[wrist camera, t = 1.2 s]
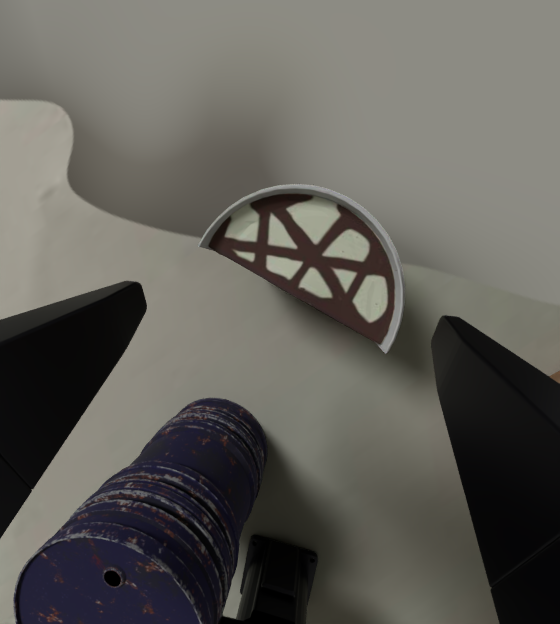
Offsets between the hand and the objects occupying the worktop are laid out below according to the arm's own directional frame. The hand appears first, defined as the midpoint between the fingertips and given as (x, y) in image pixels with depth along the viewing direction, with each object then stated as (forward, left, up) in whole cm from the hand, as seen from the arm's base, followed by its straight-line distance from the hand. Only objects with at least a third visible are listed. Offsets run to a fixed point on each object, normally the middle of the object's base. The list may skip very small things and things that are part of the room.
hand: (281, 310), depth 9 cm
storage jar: (-16, +5, -17) cm, 24 cm away
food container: (+3, -1, -17) cm, 17 cm away
